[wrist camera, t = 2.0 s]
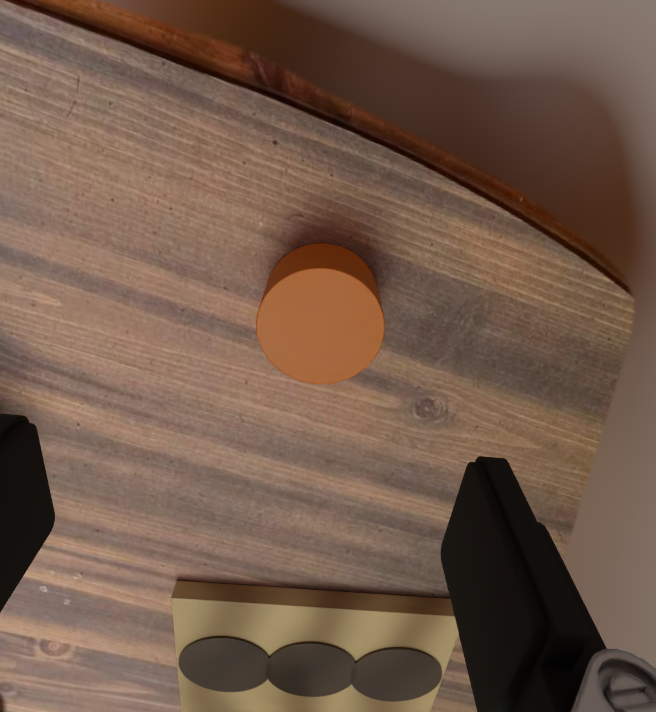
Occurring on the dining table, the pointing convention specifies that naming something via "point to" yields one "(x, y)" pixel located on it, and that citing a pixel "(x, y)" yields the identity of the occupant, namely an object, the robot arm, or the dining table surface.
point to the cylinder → (320, 315)
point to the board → (308, 649)
